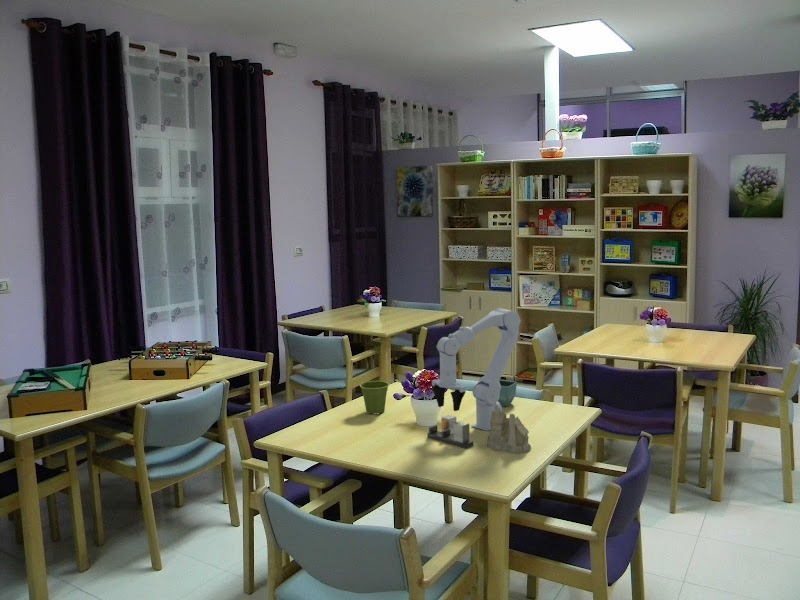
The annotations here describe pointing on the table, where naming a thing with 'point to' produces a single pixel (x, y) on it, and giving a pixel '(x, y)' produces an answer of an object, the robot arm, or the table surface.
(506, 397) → the flower pot
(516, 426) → the ceramic cottage
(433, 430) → the rail
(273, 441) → the table surface
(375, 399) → the plant pot
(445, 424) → the grey and orange block
